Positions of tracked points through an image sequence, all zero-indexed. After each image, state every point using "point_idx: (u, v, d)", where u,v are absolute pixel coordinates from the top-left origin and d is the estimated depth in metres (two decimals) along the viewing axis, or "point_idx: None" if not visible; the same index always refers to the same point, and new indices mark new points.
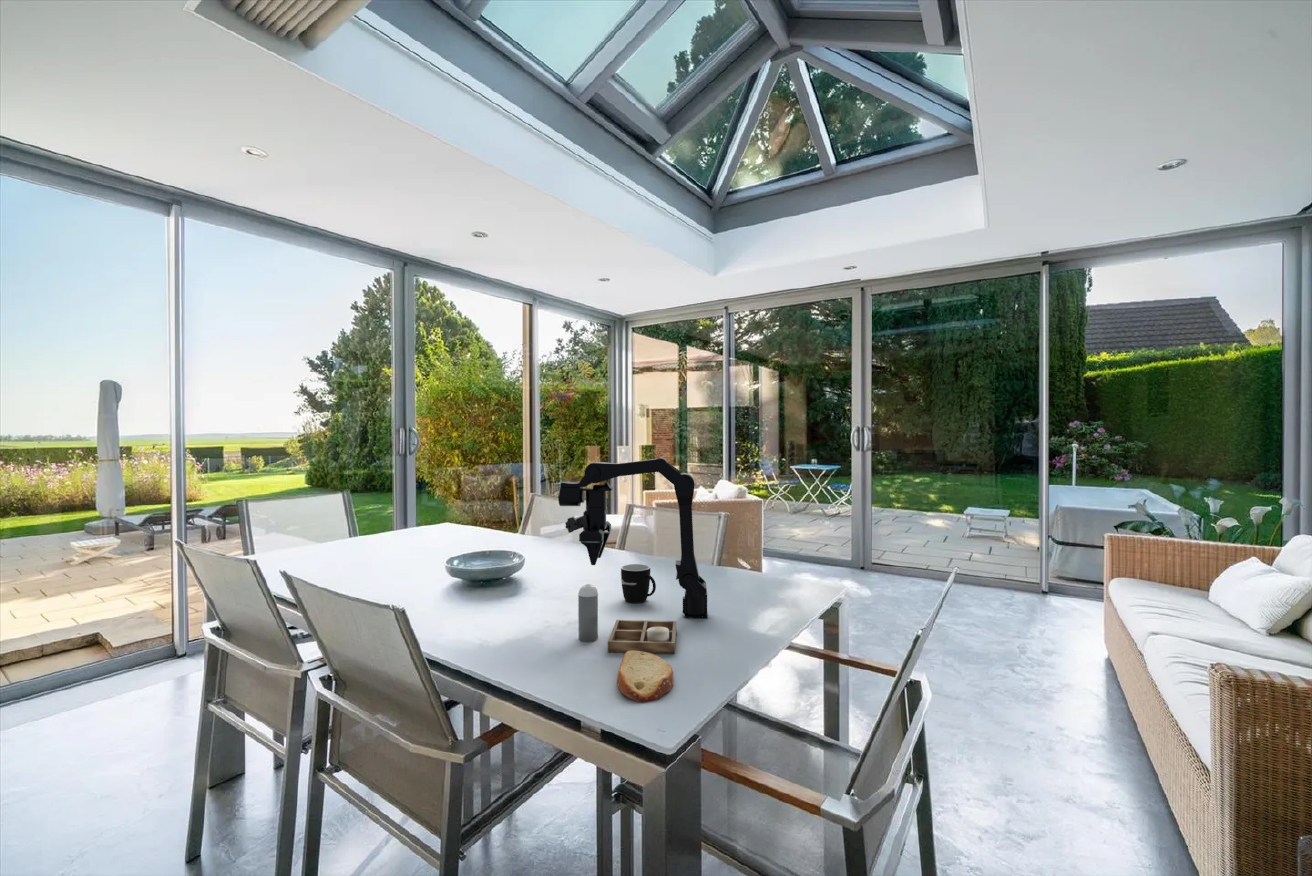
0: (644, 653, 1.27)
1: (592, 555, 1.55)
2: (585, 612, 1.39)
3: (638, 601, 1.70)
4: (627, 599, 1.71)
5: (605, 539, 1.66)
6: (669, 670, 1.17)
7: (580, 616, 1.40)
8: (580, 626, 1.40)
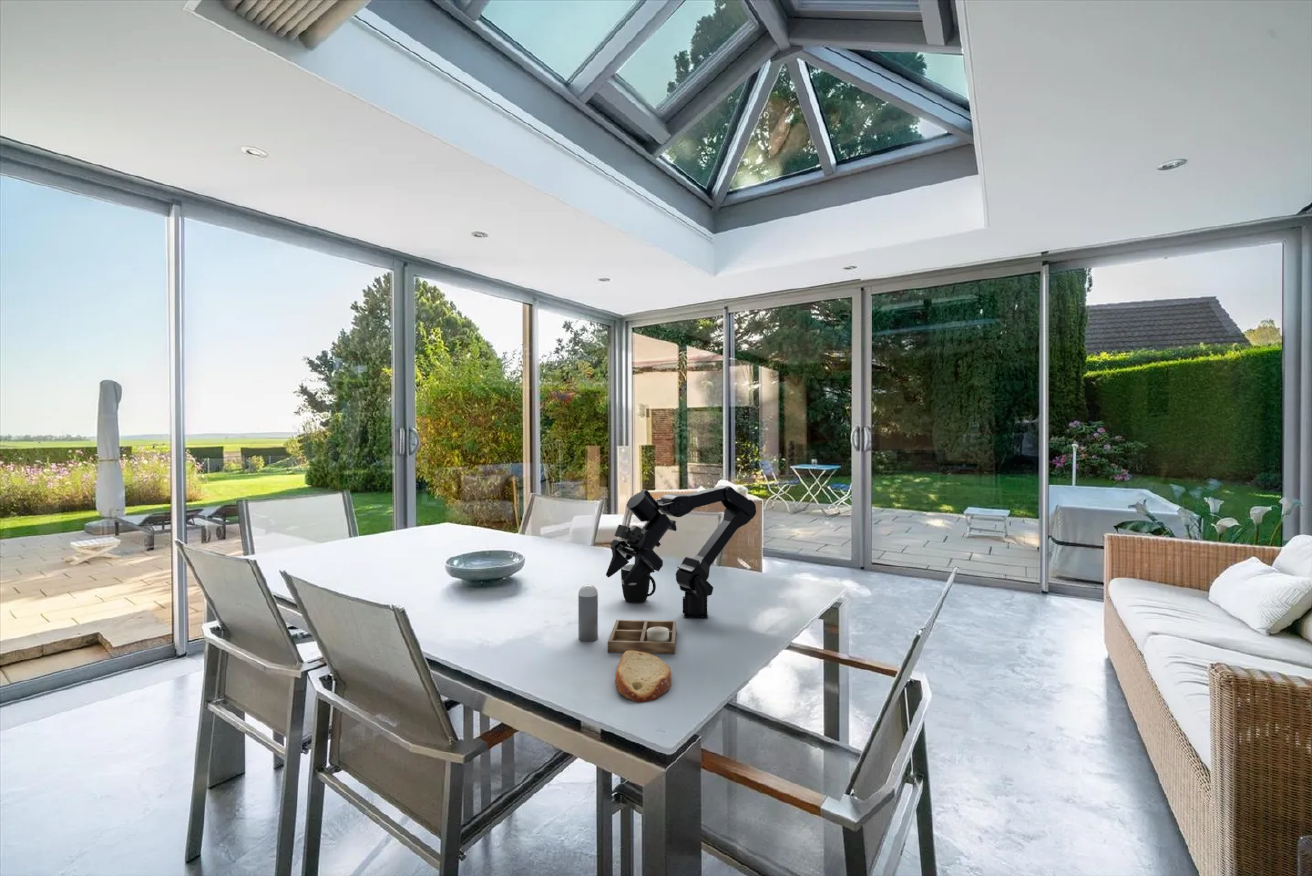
0: (642, 653, 1.27)
1: (633, 575, 1.42)
2: (585, 612, 1.39)
3: (638, 601, 1.70)
4: (627, 599, 1.71)
5: (623, 564, 1.52)
6: (667, 670, 1.17)
7: (580, 616, 1.40)
8: (580, 626, 1.40)
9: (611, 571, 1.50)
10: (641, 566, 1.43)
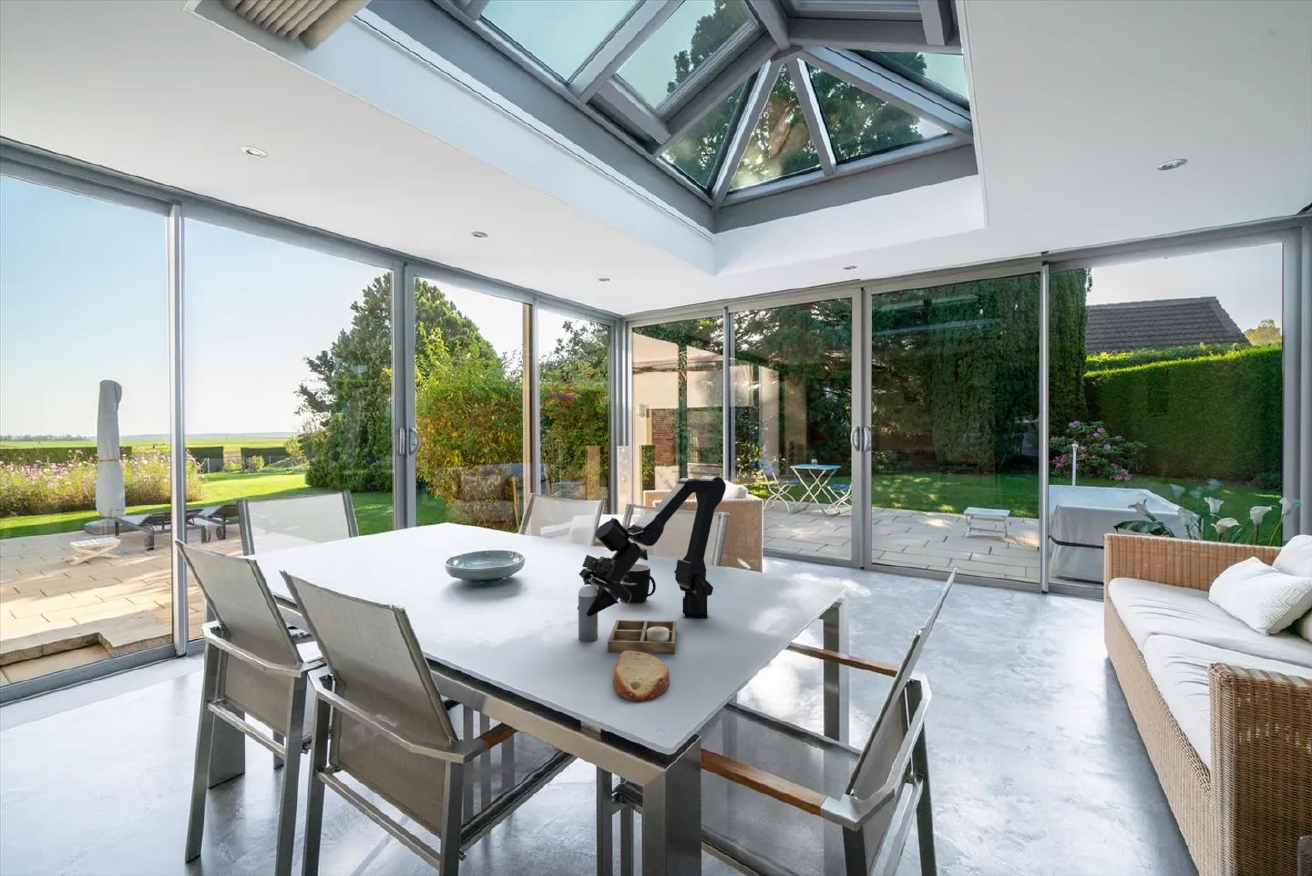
0: (640, 653, 1.27)
1: (597, 606, 1.38)
2: (585, 612, 1.39)
3: (638, 601, 1.70)
4: None
5: None
6: (665, 670, 1.17)
7: (580, 616, 1.39)
8: (580, 626, 1.39)
9: None
10: (605, 597, 1.40)
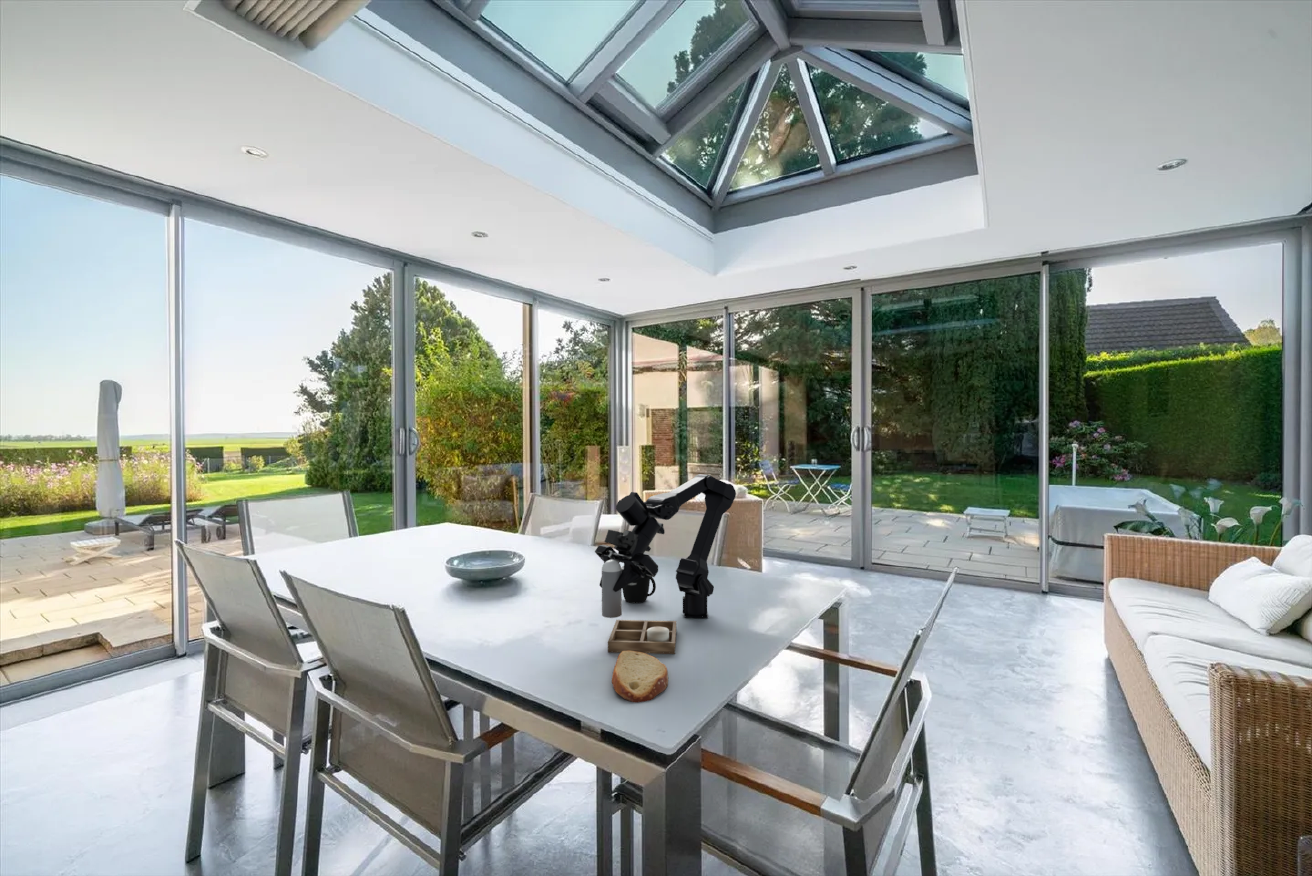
0: (639, 653, 1.27)
1: (623, 581, 1.36)
2: (610, 588, 1.36)
3: (638, 601, 1.70)
4: (627, 599, 1.71)
5: None
6: (664, 670, 1.17)
7: (605, 592, 1.36)
8: (605, 602, 1.36)
9: None
10: (630, 571, 1.38)
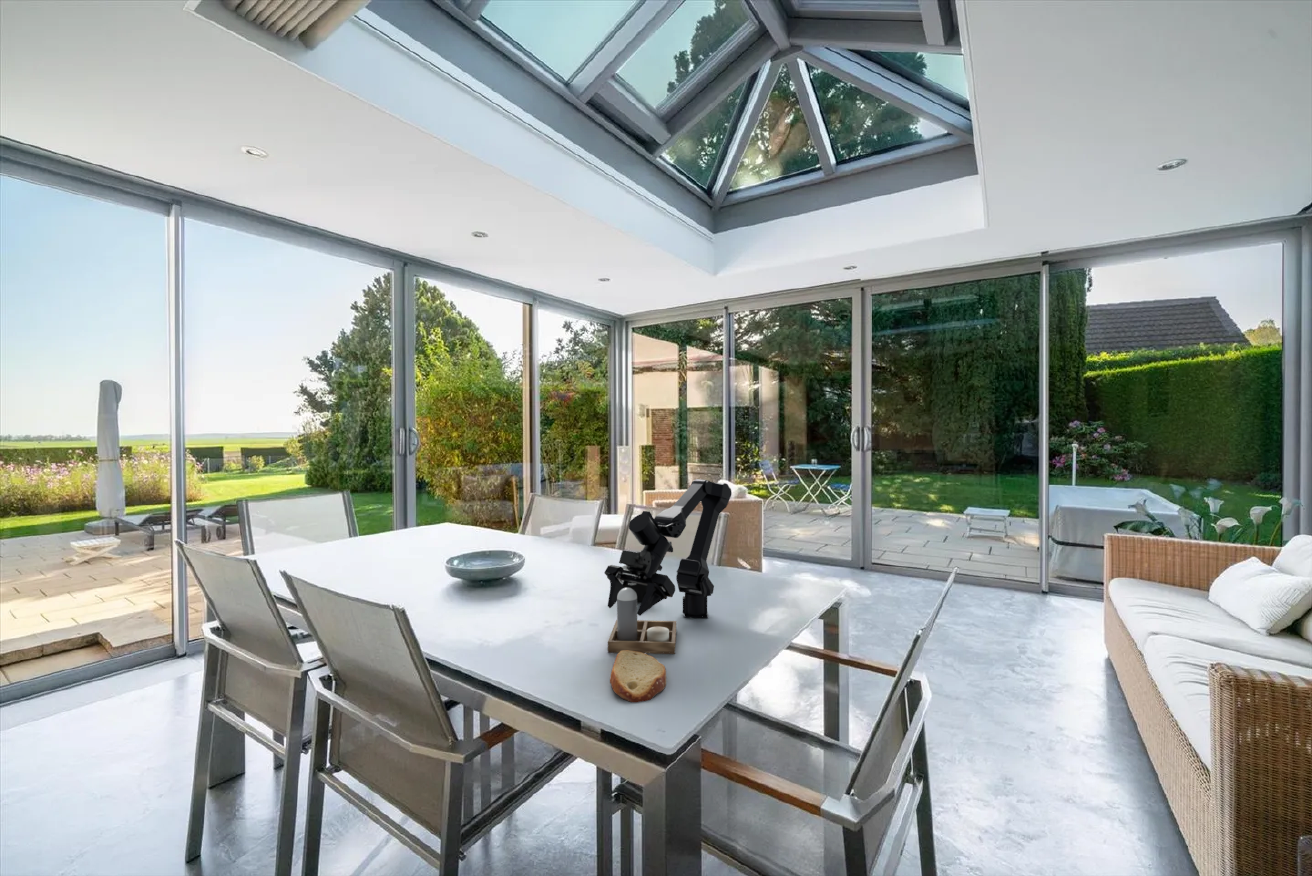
0: (637, 653, 1.27)
1: (647, 604, 1.33)
2: (628, 617, 1.33)
3: (638, 601, 1.70)
4: None
5: None
6: (662, 670, 1.17)
7: (622, 621, 1.34)
8: (622, 632, 1.34)
9: (613, 600, 1.39)
10: (653, 593, 1.35)
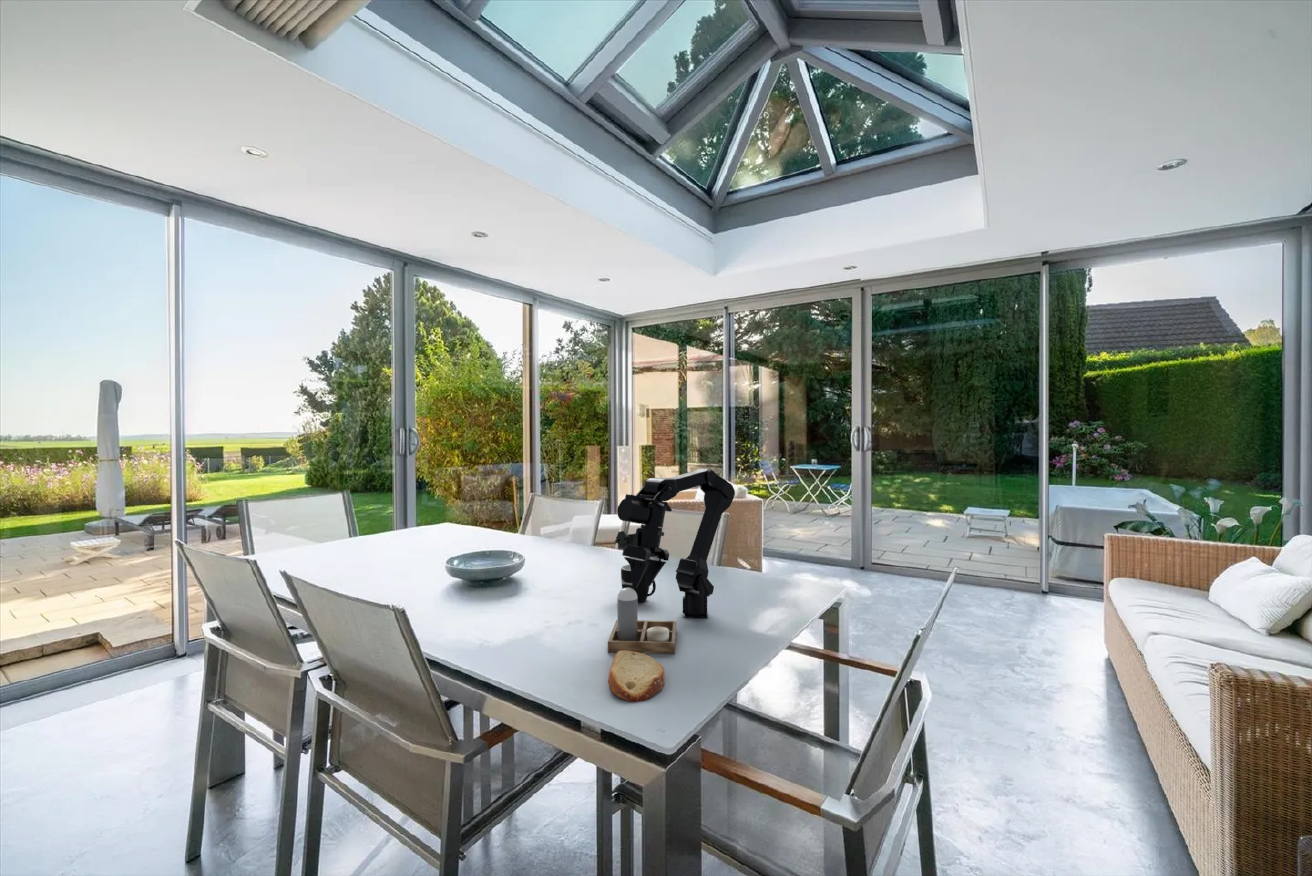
0: (635, 653, 1.27)
1: (635, 575, 1.41)
2: (628, 617, 1.33)
3: (638, 601, 1.70)
4: None
5: (658, 567, 1.50)
6: (660, 670, 1.17)
7: (622, 621, 1.34)
8: (622, 632, 1.34)
9: (648, 579, 1.50)
10: (637, 563, 1.41)
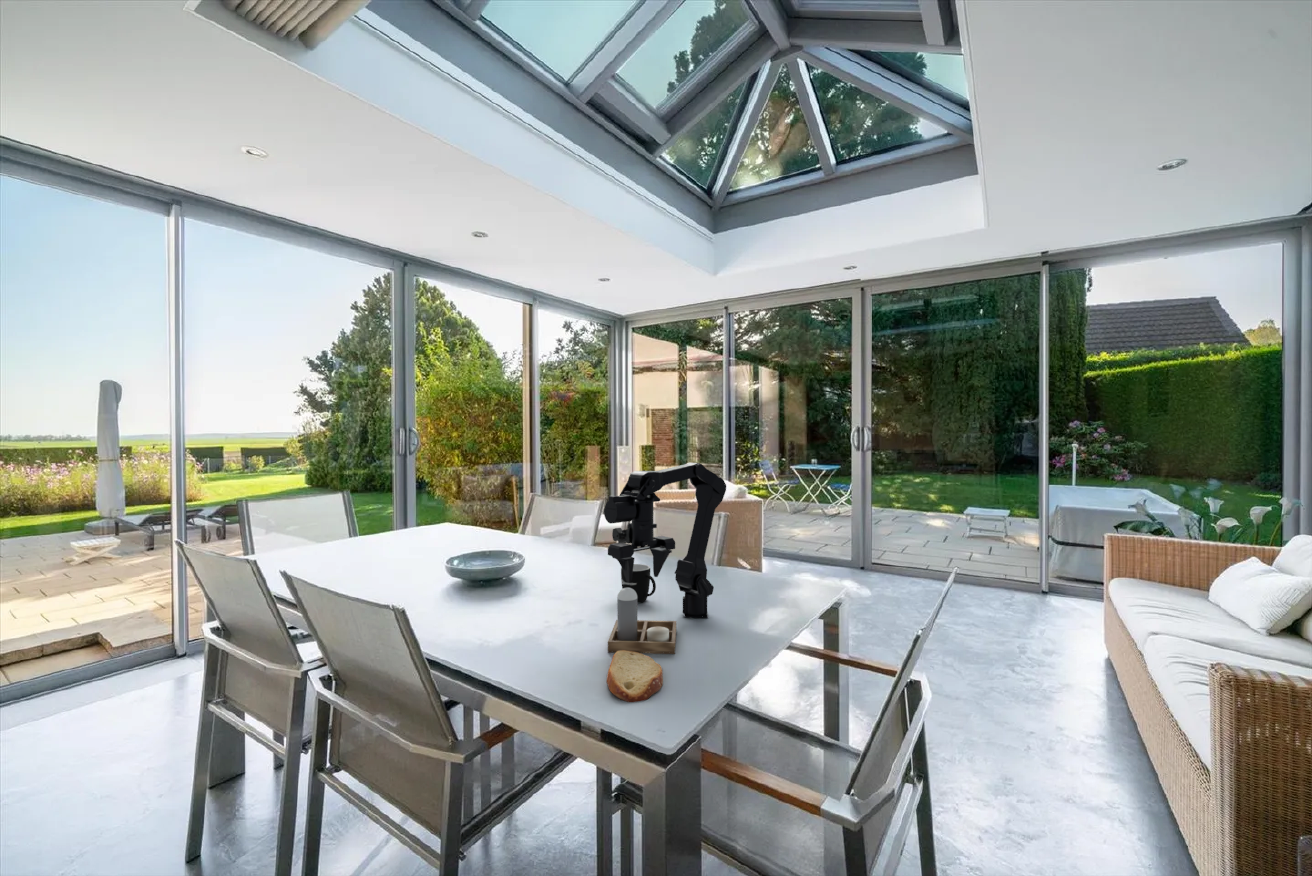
0: (634, 653, 1.28)
1: (625, 572, 1.44)
2: (628, 617, 1.34)
3: (638, 601, 1.70)
4: None
5: (661, 557, 1.49)
6: (659, 670, 1.17)
7: (622, 621, 1.34)
8: (622, 632, 1.34)
9: (655, 570, 1.50)
10: (625, 560, 1.43)
